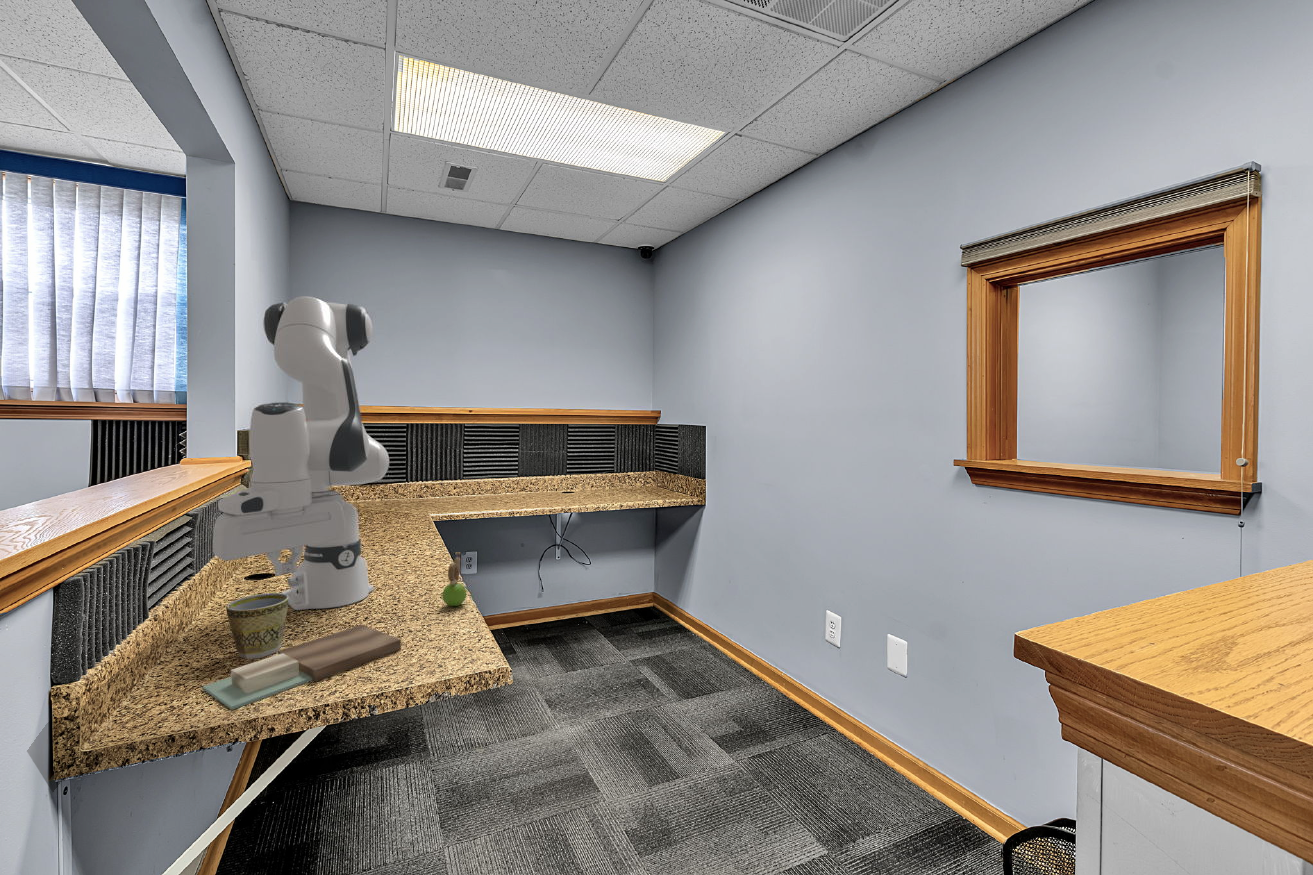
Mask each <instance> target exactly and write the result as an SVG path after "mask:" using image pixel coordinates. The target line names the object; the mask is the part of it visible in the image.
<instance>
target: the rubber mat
mask: <svg viewBox="0 0 1313 875" xmlns="http://www.w3.org/2000/svg"><path fill="white" fill-rule="evenodd" d="M311 681H313V680H312V677H310V676H309V675H307V674H305V673H303V672H301V671H299V675H298V676H296V677H293V678H290V679H287V680H284V681H282V682H279V683H276V684H273V685H271V686H268V687H265V688H262V689H259V690H257V691H254V692H251V693H248V694H246V693H245V692H243V691H242V690H240V689H239V688H237V687H235V686H234V685H232V676H229V677H225V679H224V678H223V679H221V680H218V681H214V682H211V683H208V684H206V685H203V686H202V690H203V691H204V692H206V693H207V694H209V695H210V696H212V697H213V698H214V699H216V700H217V701H218V702H220V703H221V704H223V705H224V706H225V707H227V709H230V711H232V710H236V709H238V708H241V707H244V706H247V705H250V704H253V703H254V702H258V701H260V700H262V699H265V698H268V697H272V696H274V695H276V694H280V693H282V692H285V691H286V690H289V689H292V688H295V687H297V686H301V685H304V684H306V683H309V682H311Z"/></svg>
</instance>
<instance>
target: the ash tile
mask: <svg viewBox="0 0 1313 875" xmlns="http://www.w3.org/2000/svg"><path fill="white" fill-rule="evenodd" d="M230 672H231V674H230V675H231V676H230V677H232V685H234V686H235V687H237V688H239V689H240V690H242V691H243V692H245V693H246V694H248V693H251V692H254V691H257V690H259V689H262V688H265V687H268V686H271V685H273V684H276V683H279V682H282V681H284V680H287V679H290V678H293V677H296V676H298V675H299V661H297V660H295V659H293V658H291V657H289V656H287V655H285V654H283V653H282V654H279V655H278V654H276V655H273V656H271V657H266V658H265V659H260V660H258V661H253V662H252V663H248V664H245V665H241V666H239V667H236V668H233V669H231V670H230Z"/></svg>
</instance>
